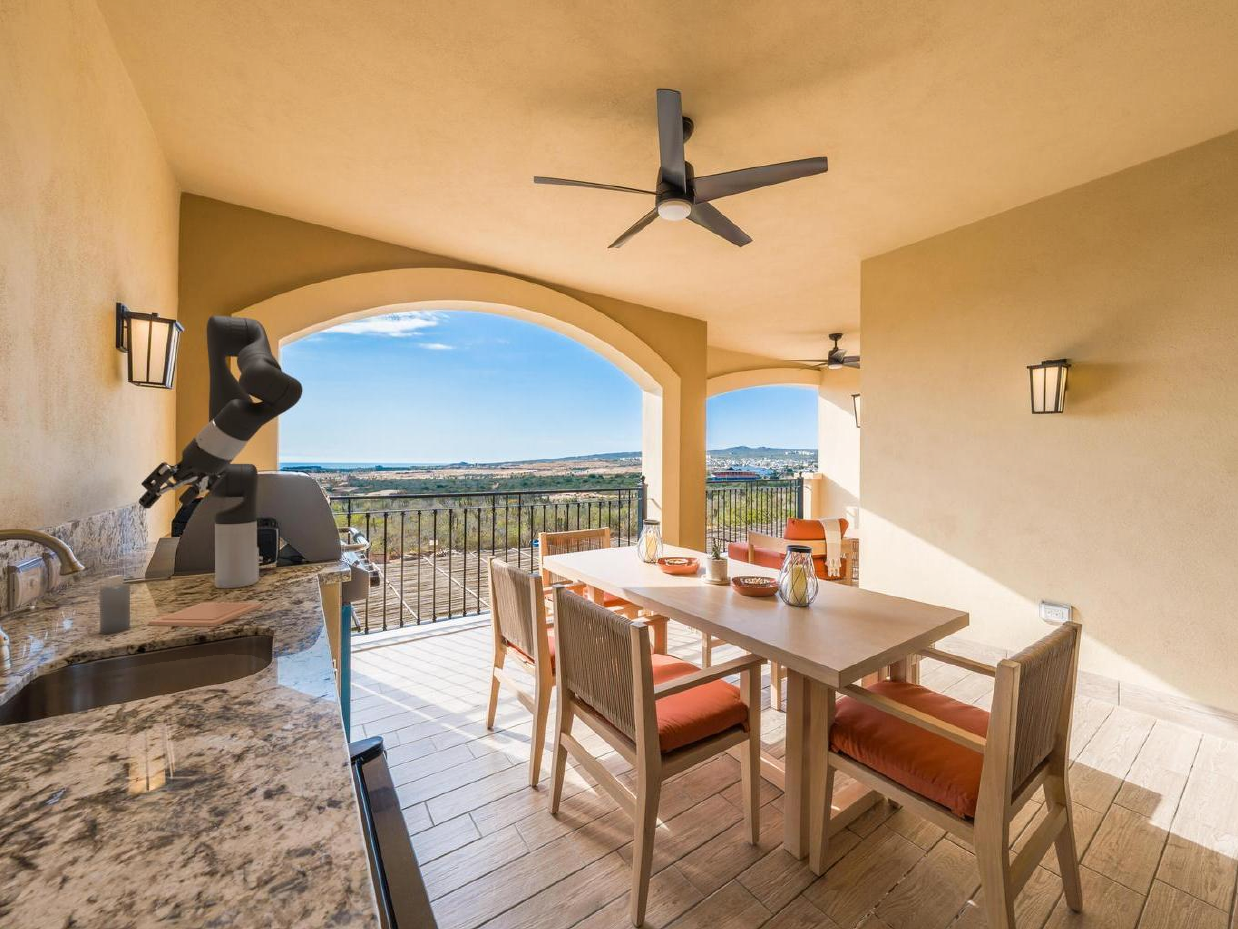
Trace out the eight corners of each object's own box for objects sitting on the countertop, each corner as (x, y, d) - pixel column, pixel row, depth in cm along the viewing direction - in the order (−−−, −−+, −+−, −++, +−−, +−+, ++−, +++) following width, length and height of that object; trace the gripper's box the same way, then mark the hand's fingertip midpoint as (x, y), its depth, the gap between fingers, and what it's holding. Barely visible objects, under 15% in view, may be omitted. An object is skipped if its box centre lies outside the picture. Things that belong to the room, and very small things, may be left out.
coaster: (202, 605, 122) (202, 601, 122) (261, 606, 122) (261, 602, 122) (148, 625, 108) (148, 620, 108) (214, 626, 108) (214, 621, 108)
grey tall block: (115, 626, 107) (114, 573, 107) (136, 626, 107) (135, 574, 107) (93, 633, 103) (92, 578, 103) (115, 634, 103) (114, 579, 103)
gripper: (232, 435, 111) (182, 490, 112) (171, 430, 97) (114, 492, 98) (256, 459, 111) (206, 514, 111) (199, 457, 97) (142, 520, 97)
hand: (163, 504), depth 104 cm, fingers open, 8 cm apart
